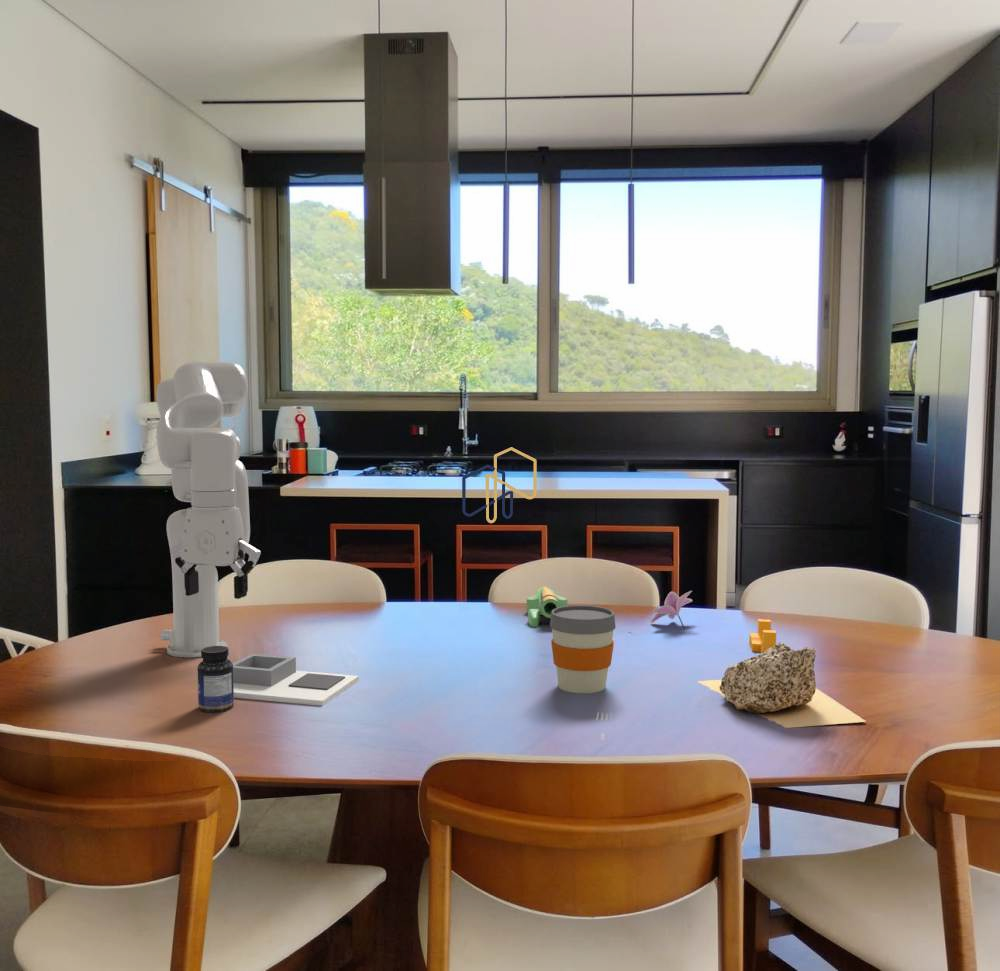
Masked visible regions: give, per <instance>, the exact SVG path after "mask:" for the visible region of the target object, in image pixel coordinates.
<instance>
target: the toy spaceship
mask: <svg viewBox="0 0 1000 971" xmlns="http://www.w3.org/2000/svg"><path fill="white" fill-rule="evenodd" d="M564 606H568V599H567V598H566V597H565V596H564V597H563V596H560V595H558V594H556V593H555V591H554V590H553V589H551V588H550V587H547V586H541V587H539V588H538V589H537V590H536V593H535V594H534V595H532V596H529V597H528V598H527V599H526V614H527V624H528V625H529V626H530V627H532V628H537V627H539V624H540V616H544V617H545V618H547V619H551V612H552V610H553V609H555V608H559V607H564Z"/></svg>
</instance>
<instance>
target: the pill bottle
mask: <svg viewBox="0 0 1000 971" xmlns="http://www.w3.org/2000/svg"><path fill="white" fill-rule="evenodd" d="M228 657H229V647H228V646H227V647H225V646H210V647H205V648H203V649H202V650H201V657H200V658H202V660H201V661H200V663H199V664H198V665H197V697H198V698H197V699H198V703H197V704H198V710H199V711H201V712H202V713H205V714H206V713H207V714H217V713H222V712H223V713H224V712H227V711H229V710H231V709H233V708H234V704H235V702H234V700H235V698H234V689H233V664H232V663H233V662H232V661H231V660H230V659H228Z"/></svg>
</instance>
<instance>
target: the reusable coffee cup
mask: <svg viewBox="0 0 1000 971" xmlns="http://www.w3.org/2000/svg"><path fill="white" fill-rule="evenodd" d="M615 616H616V615H615V612H614V611H613V610H612V609H608V607H607V608H606V607H602V606H595V605H581V604H580V605H577V604H576V605H567V606H564V607H559V608H555V609H553V610H552V612H551V618H550V621H549V627H550V628H551V633H552V638H551V640H550V644H551V650H552V659H553V661H552V662H553V664H554V666H555V668H556V675H557V682H558V683H557V684H558V688H559V689H560V690H563V691H564V692H568V693H572V694H573V693H575V694H594V693H599V692H601V691H604V690H605V689H606V687H607V686H606V685H607V678H608V671H609V667H611V664H612V659H613V653H614V652H613V651H614V645H615V641H614V640H613V636H614V631H615V630H616V620H615V619H616V618H615Z"/></svg>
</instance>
